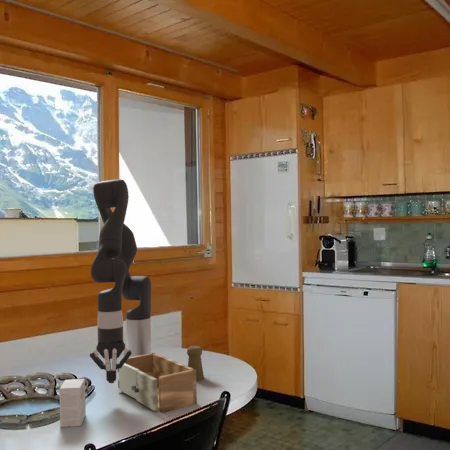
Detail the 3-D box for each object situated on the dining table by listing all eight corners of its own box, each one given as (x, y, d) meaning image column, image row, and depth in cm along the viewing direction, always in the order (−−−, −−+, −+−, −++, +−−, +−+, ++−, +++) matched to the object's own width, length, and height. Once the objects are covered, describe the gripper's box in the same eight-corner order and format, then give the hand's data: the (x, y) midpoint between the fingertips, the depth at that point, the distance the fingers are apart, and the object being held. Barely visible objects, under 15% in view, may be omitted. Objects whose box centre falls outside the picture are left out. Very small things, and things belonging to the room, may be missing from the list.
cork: (201, 381, 179) (200, 348, 179) (184, 380, 180) (183, 348, 180) (205, 376, 185) (205, 344, 185) (189, 375, 186) (188, 344, 186)
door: (115, 390, 170) (114, 362, 170) (121, 388, 171) (120, 361, 171) (133, 400, 160) (133, 371, 160) (140, 398, 161) (139, 369, 161)
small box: (65, 416, 150) (65, 379, 150) (86, 415, 150) (85, 378, 150) (59, 427, 142) (58, 388, 142) (80, 426, 142) (79, 387, 142)
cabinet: (114, 391, 170) (113, 360, 170) (154, 382, 179) (154, 352, 179) (153, 414, 149) (152, 379, 149) (196, 403, 158) (196, 369, 158)
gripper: (86, 328, 156) (87, 387, 156) (131, 326, 157) (133, 384, 157) (89, 323, 163) (90, 379, 163) (133, 321, 165) (134, 377, 165)
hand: (111, 382), depth 160 cm, fingers closed
